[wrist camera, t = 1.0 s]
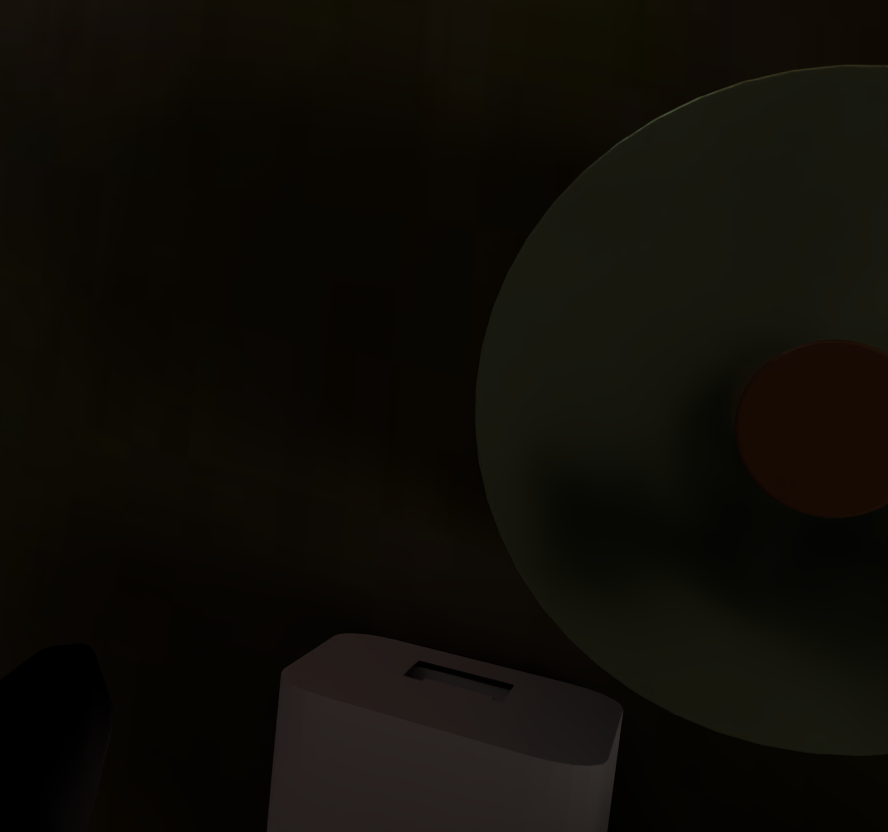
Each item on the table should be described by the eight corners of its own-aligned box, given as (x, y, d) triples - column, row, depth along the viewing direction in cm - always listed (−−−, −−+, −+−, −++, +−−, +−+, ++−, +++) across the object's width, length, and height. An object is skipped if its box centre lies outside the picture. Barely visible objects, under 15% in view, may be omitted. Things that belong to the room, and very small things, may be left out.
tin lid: (1395, 251, 12) (1855, 162, 7) (939, 863, 14) (1050, 1104, 10) (659, -4, 15) (633, -179, 11) (399, 520, 18) (281, 571, 13)
